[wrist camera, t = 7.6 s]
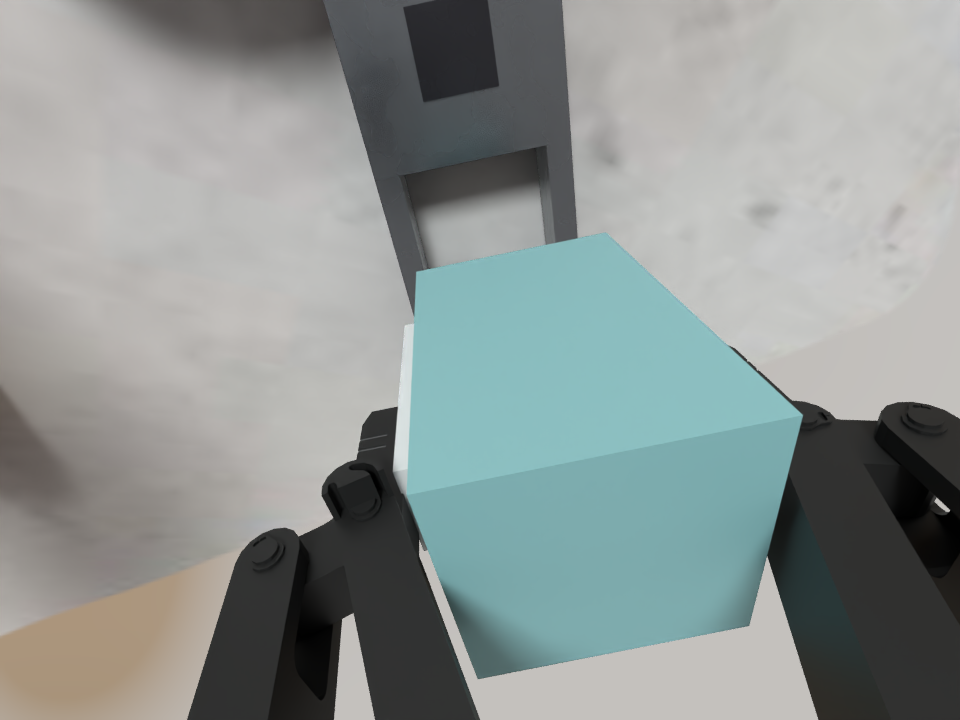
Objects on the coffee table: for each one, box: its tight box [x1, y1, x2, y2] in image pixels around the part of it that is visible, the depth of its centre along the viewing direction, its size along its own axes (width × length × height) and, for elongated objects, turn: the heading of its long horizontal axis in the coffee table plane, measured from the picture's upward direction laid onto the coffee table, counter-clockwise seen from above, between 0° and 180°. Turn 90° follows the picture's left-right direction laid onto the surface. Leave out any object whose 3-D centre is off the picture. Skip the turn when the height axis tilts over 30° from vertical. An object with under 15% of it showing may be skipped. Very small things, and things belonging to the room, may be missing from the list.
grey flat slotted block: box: [323, 0, 577, 314], centre depth 27 cm, size 24×10×3 cm, turn 10°
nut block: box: [407, 233, 803, 679], centre depth 12 cm, size 6×6×9 cm
